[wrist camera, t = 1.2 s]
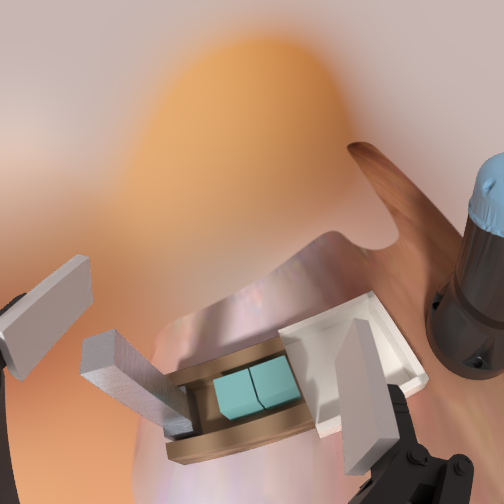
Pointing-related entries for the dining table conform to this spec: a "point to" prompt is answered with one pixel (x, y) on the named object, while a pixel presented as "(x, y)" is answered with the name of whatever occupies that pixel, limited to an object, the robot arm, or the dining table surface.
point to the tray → (328, 345)
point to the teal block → (238, 396)
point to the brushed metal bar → (139, 385)
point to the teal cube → (275, 383)
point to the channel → (242, 431)
